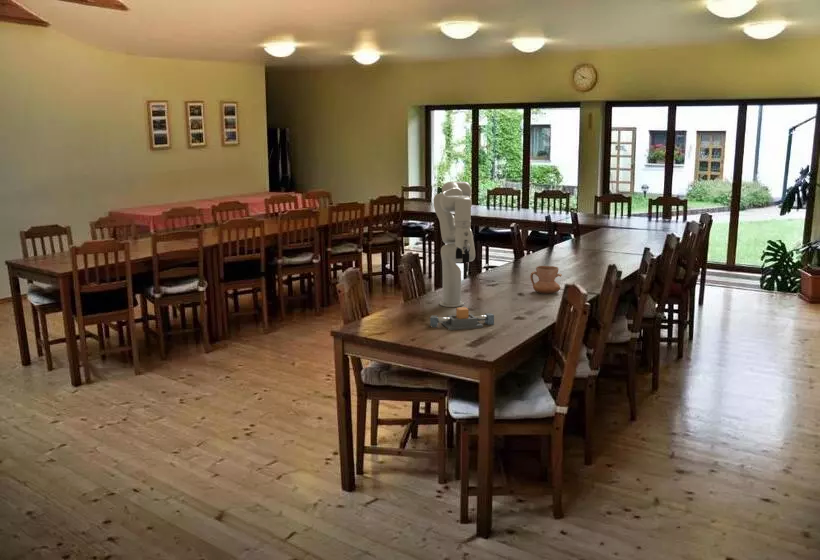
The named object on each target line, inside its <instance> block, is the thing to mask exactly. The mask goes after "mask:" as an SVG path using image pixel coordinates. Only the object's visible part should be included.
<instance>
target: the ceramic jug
mask: <svg viewBox="0 0 820 560" xmlns="http://www.w3.org/2000/svg"><path fill="white" fill-rule="evenodd" d="M559 269H560V268H559V267H558V266H555V265H554V266H553V265H538V266H536V267H535V271H534V270H533V271H532V272H530V277H529V279H530V281H531V283H532V288H533V290H534V291H535V292H537V293H539V294H542V295H552V294H555V293H558V292H559V291H560V290H561V286H560V284H559V283H558V282H556V278H558V277H560V278H562V276H563V275H562V274H561V273H558V272H559ZM534 275H535V276H536V277H538V281H537V282H535V281H534V278H533V277H534Z"/></svg>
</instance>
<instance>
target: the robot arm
mask: <svg viewBox="0 0 820 560" xmlns="http://www.w3.org/2000/svg"><path fill="white" fill-rule="evenodd" d="M471 193H472V188H471V184H470V183H469V182H467V181H447V182H446V183H444V184H443V186H442V188H441V192H440V193H437V194H436V195H434V197H433V208H434V212H435V215H436V217H437V218H438V221H439V228H440V234H441V236H440V237H441V239H442V242H443V243H444V245H442V246H441V248H440V257H441V265H442V271H441V272H442V273H441V274H442V300H440V301H439V305H440V306H441V307H445V308H446V307H447V308H460V307H463V306H464V305H465V302H464V301H463V300H462V270H461V267H460V266H458V264H457V263H463V264H464V263H470V262H473V261H474V260H475V258H476V249H475V242H474V235H473V234H474V233H473V231H472V229H471V228H472V227H471V225H472V224H471V223H472V217H471V216H472V206H473V205H472V203H473V202H472V198H471V195H472V194H471ZM453 213H454V214H453Z"/></svg>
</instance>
